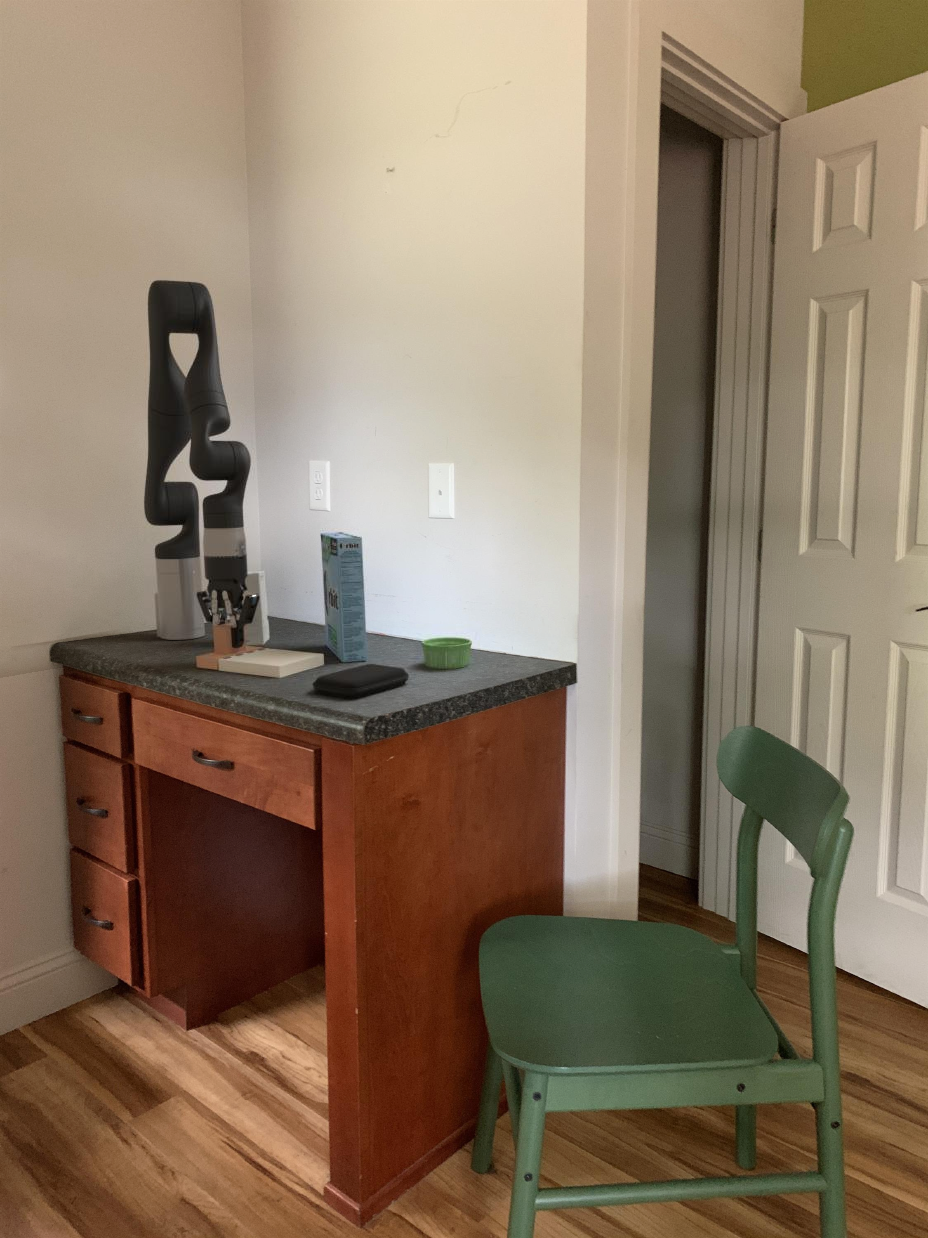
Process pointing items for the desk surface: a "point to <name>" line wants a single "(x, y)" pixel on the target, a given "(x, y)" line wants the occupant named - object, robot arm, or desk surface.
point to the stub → (222, 648)
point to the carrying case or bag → (360, 681)
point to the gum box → (344, 596)
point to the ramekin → (446, 652)
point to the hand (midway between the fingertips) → (230, 646)
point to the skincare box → (257, 610)
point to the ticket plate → (271, 662)
